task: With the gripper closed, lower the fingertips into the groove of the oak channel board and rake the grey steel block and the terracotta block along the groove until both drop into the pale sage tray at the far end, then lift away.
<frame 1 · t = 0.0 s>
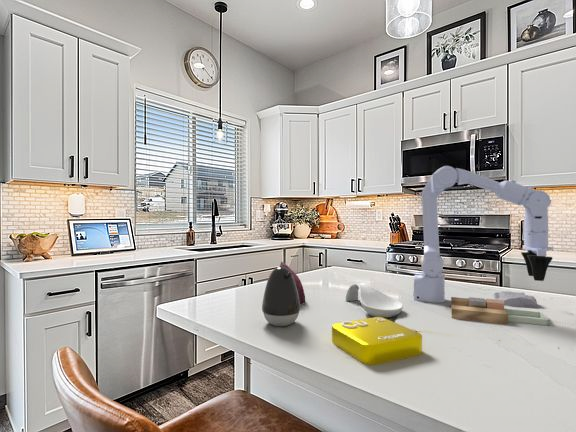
hand: (535, 278, 102), 10 cm above the counter, tool pointing down, fingers open, 7 cm apart
stone block: (512, 306, 110), on the counter
grey steel block: (476, 313, 98), point 1 cm above the counter, touching oak channel board
oak channel board: (476, 317, 98), on the counter
black egg shape: (281, 324, 93), on the counter
element tile: (375, 349, 77), on the counter
vegetable: (289, 302, 115), on the counter
terracotta block: (494, 315, 96), point 1 cm above the counter, touching oak channel board
sage tray: (525, 322, 93), on the counter
spoon rest: (370, 310, 106), on the counter
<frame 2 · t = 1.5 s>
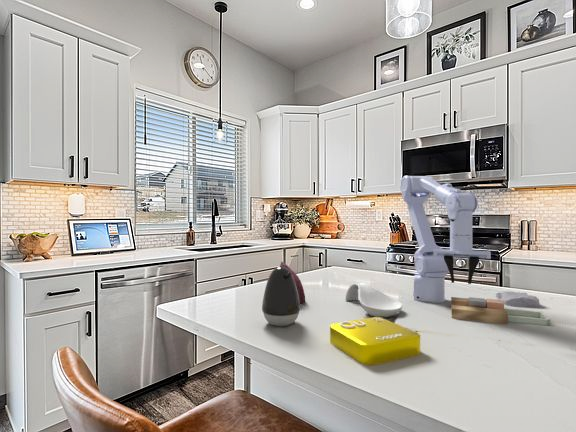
hand: (461, 282, 99), 9 cm above the counter, tool pointing down, fingers open, 4 cm apart
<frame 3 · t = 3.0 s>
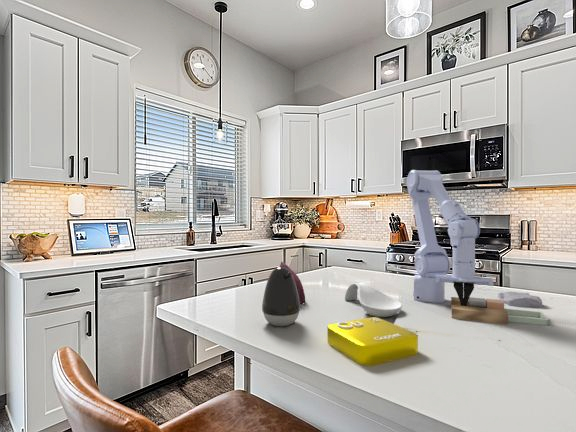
hand: (463, 309, 99), 2 cm above the counter, tool pointing down, fingers closed
grey steel block: (477, 313, 98), point 1 cm above the counter, touching gripper
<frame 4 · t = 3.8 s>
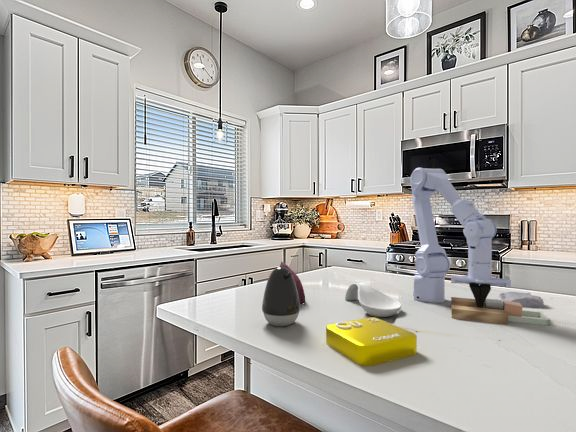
hand: (479, 310, 97), 2 cm above the counter, tool pointing down, fingers closed
grey steel block: (493, 315, 96), point 1 cm above the counter, touching gripper, oak channel board
terracotta block: (510, 317, 94), point 1 cm above the counter, tilted 5°, touching oak channel board
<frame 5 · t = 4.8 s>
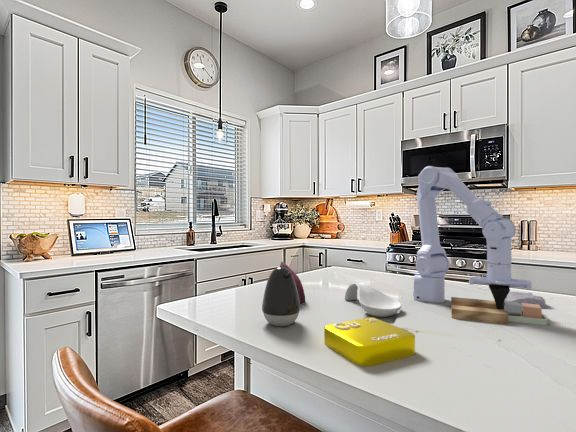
hand: (498, 312, 95), 2 cm above the counter, tool pointing down, fingers closed, pressing on grey steel block
grey steel block: (509, 317, 95), point 1 cm above the counter, tilted 9°, touching gripper, sage tray
terracotta block: (531, 320, 93), point 1 cm above the counter, touching sage tray
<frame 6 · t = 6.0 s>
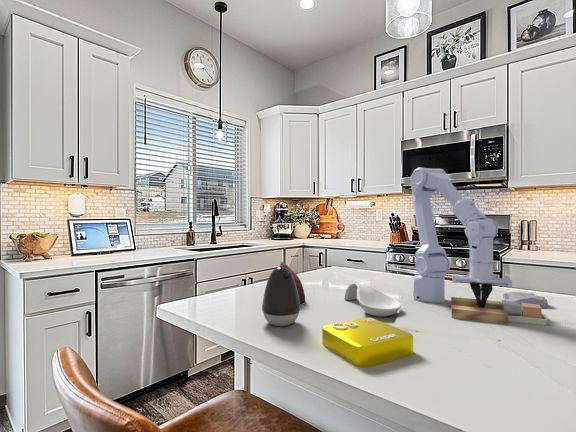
hand: (480, 310, 97), 2 cm above the counter, tool pointing down, fingers closed
grey steel block: (509, 317, 95), point 1 cm above the counter, tilted 7°, touching oak channel board, sage tray
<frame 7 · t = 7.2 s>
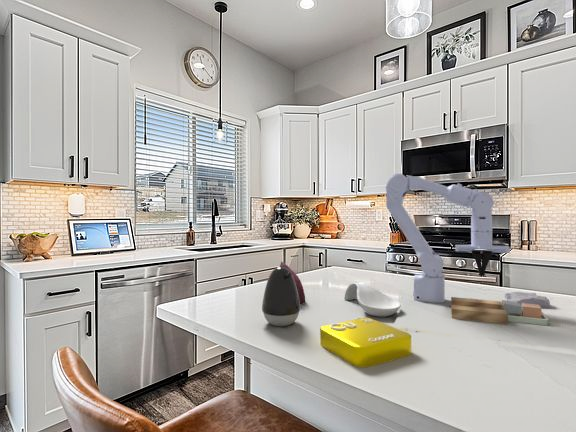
hand: (481, 275, 108), 10 cm above the counter, tool pointing down, fingers closed
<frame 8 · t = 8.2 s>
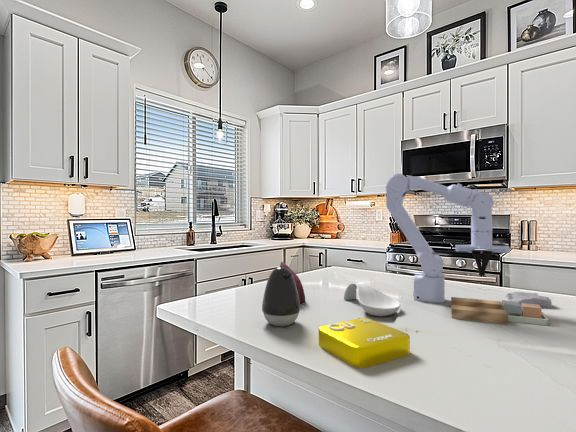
hand: (481, 275, 108), 10 cm above the counter, tool pointing down, fingers closed
at the end: terracotta block inside the target area (1.0 cm from its centre), point 0.6 cm above the counter; grey steel block inside the target area (4.0 cm from its centre), point 0.8 cm above the counter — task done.
